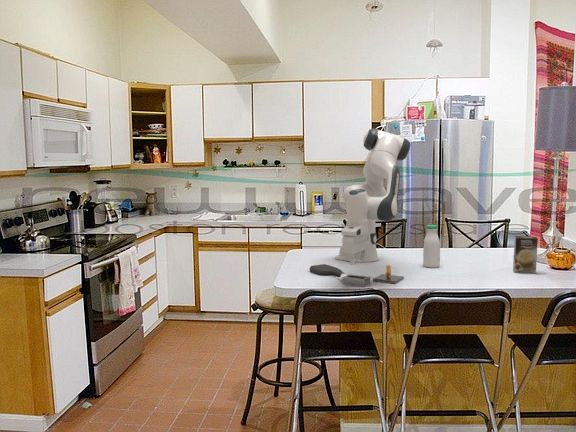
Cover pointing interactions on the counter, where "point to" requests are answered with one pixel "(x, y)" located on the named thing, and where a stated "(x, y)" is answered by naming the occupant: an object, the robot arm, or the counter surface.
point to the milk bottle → (431, 248)
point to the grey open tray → (356, 280)
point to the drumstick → (327, 271)
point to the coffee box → (525, 254)
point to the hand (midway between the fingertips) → (357, 262)
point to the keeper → (388, 277)
